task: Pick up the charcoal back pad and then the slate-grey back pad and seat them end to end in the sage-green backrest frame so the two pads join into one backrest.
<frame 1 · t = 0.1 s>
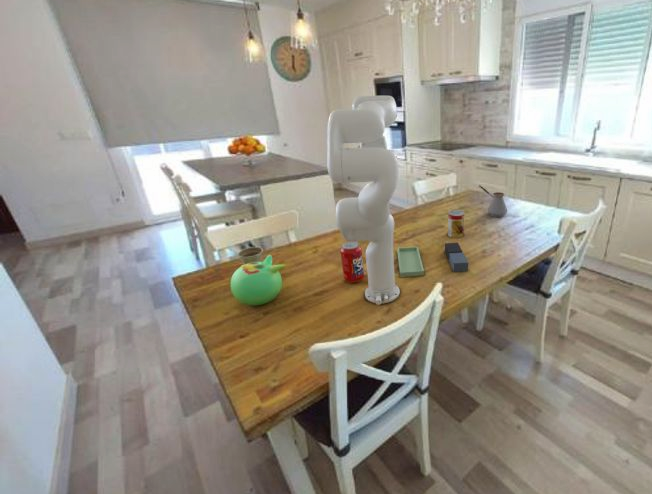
hand: (375, 179, 124), 37 cm above the table, tool pointing down, fingers open, 9 cm apart
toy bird: (262, 299, 115), on the table
soda can: (354, 279, 127), on the table
coffee pot: (490, 212, 194), on the table
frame: (409, 262, 138), on the table
pad slate: (458, 266, 135), on the table
pad charcoal: (453, 255, 144), on the table
flower pot: (255, 270, 134), on the table
canned food: (455, 235, 164), on the table
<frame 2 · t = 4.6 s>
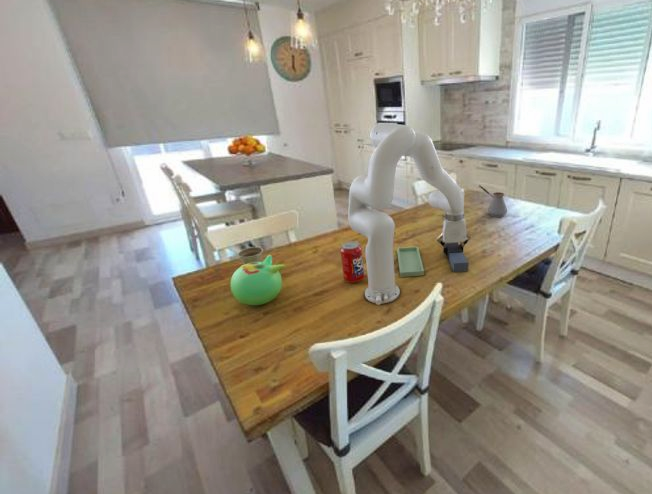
hand: (453, 253, 143), 1 cm above the table, tool pointing down, fingers closed on pad charcoal, 6 cm apart
pad charcoal: (453, 255, 144), on the table, touching gripper
everything else where it was.
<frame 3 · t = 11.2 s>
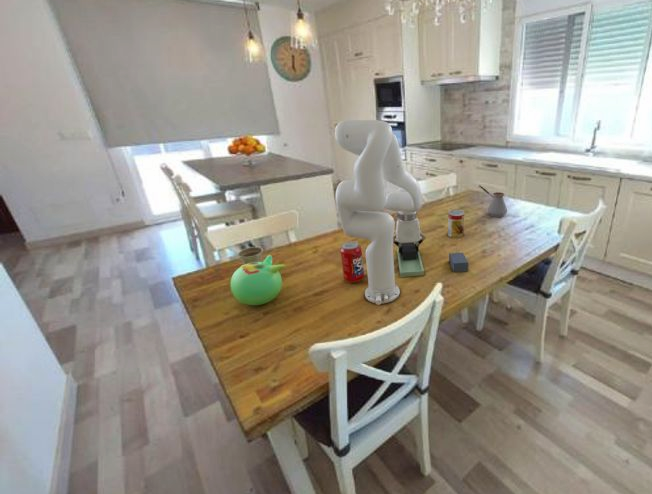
hand: (408, 253, 142), 2 cm above the table, tool pointing down, fingers closed on pad charcoal, 6 cm apart
pad charcoal: (408, 254, 142), point 1 cm above the table, touching gripper
everything else where it was.
when the fingers open (3 cm above the table, at t = 20.6 s): pad charcoal drops 2 cm, resting on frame.
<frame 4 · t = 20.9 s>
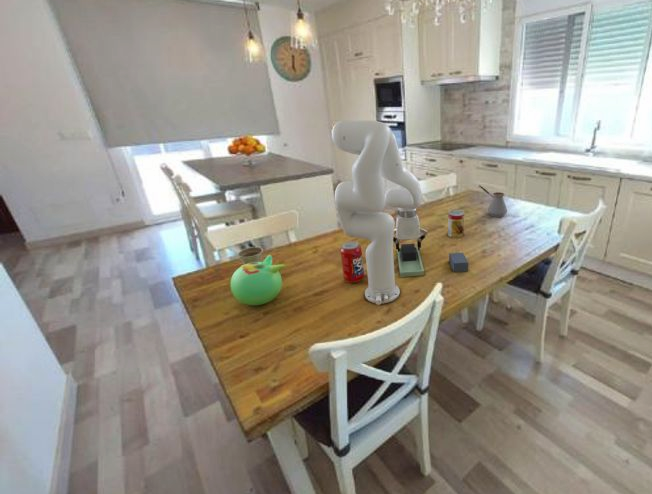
hand: (408, 249, 141), 4 cm above the table, tool pointing down, fingers open, 8 cm apart
pad charcoal: (408, 256, 142), resting on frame
everything else where it was.
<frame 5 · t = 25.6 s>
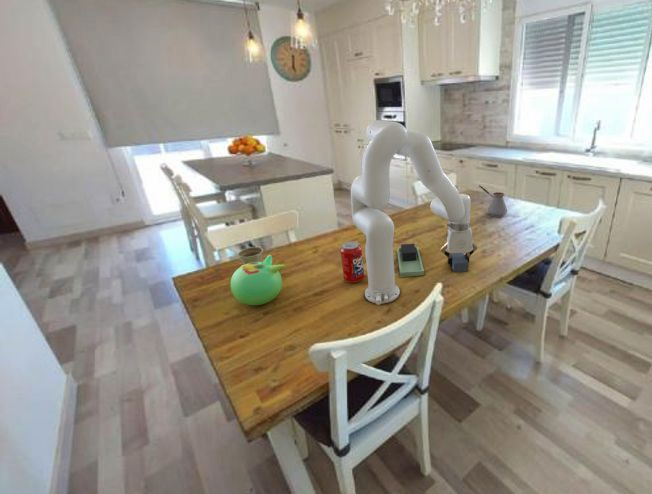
hand: (458, 264, 134), 1 cm above the table, tool pointing down, fingers closed on pad slate, 6 cm apart
pad slate: (458, 266, 135), on the table, touching gripper
everything else where it was.
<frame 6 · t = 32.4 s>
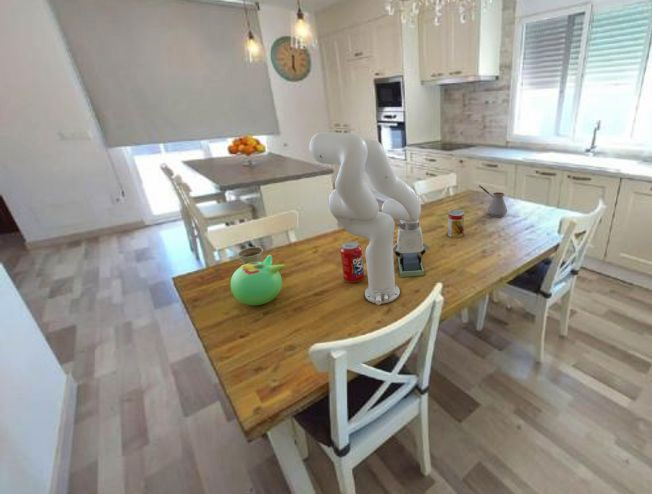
hand: (410, 264, 133), 2 cm above the table, tool pointing down, fingers closed on pad slate, 6 cm apart
pad slate: (410, 266, 133), point 1 cm above the table, touching gripper
everything else where it was.
when the fingers open (3 cm above the table, at t = 41.3 s): pad slate drops 2 cm, resting on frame.
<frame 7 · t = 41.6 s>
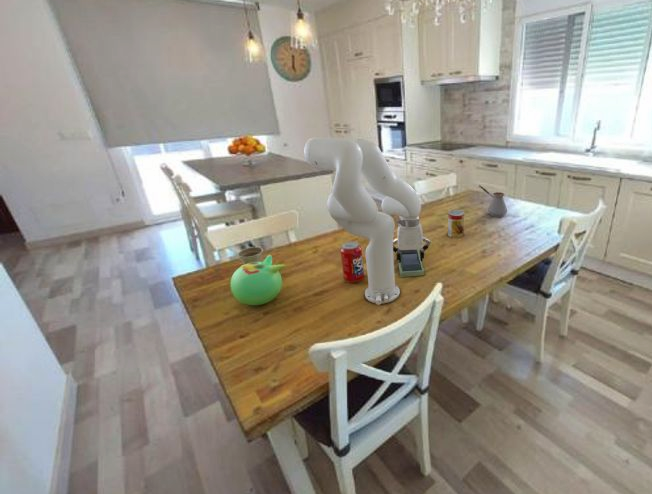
hand: (410, 260, 132), 4 cm above the table, tool pointing down, fingers open, 8 cm apart
pad slate: (410, 267, 133), resting on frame
everything else where it was.
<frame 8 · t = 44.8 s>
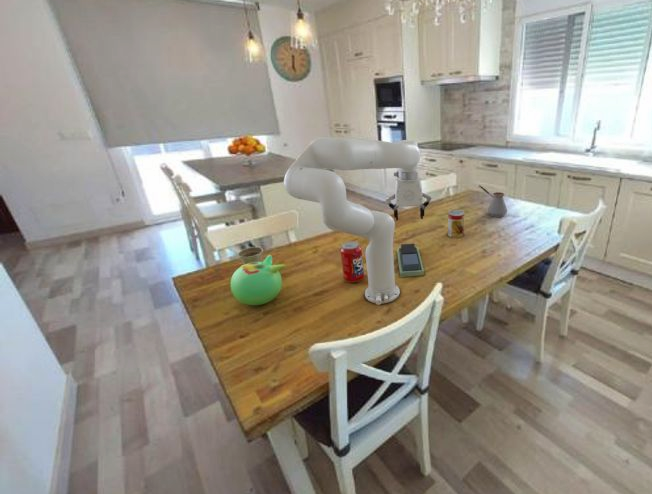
hand: (409, 218, 124), 22 cm above the table, tool pointing down, fingers open, 9 cm apart
nothing on the table moved.
at the end: pad charcoal 0.1 cm from the target spot in the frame, point 0.5 cm above the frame's base; pad slate 0.1 cm from the target spot in the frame, point 0.5 cm above the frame's base; pad charcoal 10.0 cm from the pad slate (horizontally) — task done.
